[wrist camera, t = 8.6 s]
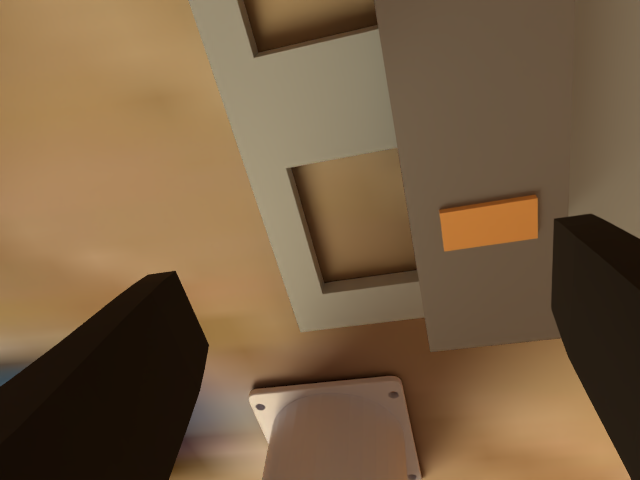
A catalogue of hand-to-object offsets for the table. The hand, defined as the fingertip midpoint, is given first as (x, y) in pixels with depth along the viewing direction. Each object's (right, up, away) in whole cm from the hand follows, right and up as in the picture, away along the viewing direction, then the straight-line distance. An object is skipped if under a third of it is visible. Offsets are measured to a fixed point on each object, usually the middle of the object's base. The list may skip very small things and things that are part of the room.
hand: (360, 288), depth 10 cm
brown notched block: (+3, +7, +7) cm, 10 cm away
